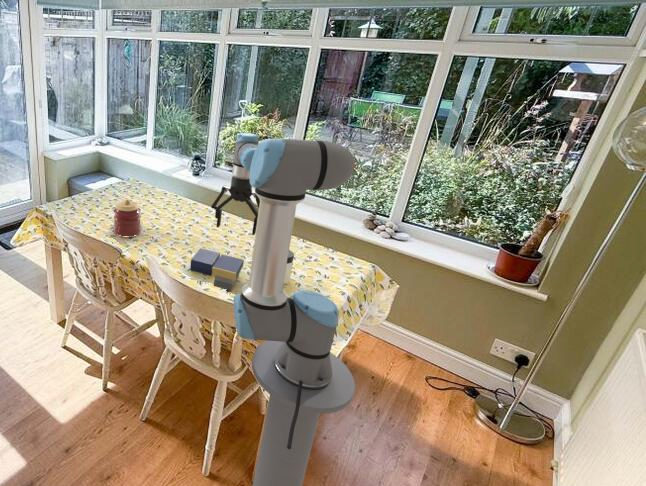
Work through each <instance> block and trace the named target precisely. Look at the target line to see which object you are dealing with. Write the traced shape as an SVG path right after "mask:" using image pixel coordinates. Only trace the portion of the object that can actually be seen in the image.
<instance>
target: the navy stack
mask: <svg viewBox="0 0 646 486" xmlns="http://www.w3.org/2000/svg"><path fill="white" fill-rule="evenodd" d="M220 256H221V252H218V251H214V250H209V249H205V248H201V247H200V248H198V250H197V251H196V253H194V255H193V257H192V258H191V259H190V268H189V271H192V272H196V273H199V274H202V275H207V276H210V277H212V276H213V275H212V269H213V266H214V265H215V263H216V262H217V260H218V259H219V258H220Z"/></svg>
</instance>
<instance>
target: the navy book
mask: <svg viewBox="0 0 646 486" xmlns="http://www.w3.org/2000/svg"><path fill="white" fill-rule="evenodd" d="M244 262H245V259H243V258H239V257H234V256H230V255H227V254H220V258H219V259H218V260H217V262H216V263H215V265H214V266H213V269H212V275H211V276H215V275H216V276H220V277H224V278H228V279H231V280H236V278H237V276H238V274H239V275H240V273H241V271H242V269H243V268H244V264H245V263H244Z"/></svg>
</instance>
